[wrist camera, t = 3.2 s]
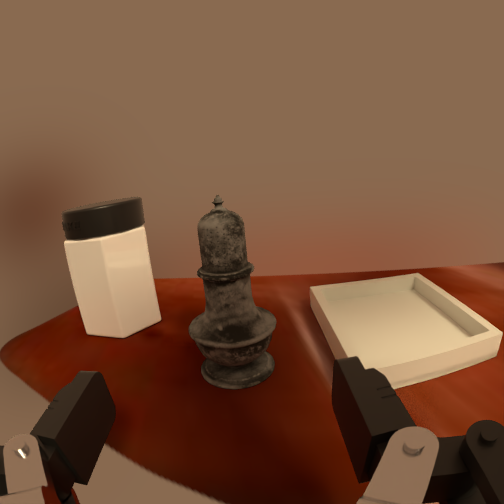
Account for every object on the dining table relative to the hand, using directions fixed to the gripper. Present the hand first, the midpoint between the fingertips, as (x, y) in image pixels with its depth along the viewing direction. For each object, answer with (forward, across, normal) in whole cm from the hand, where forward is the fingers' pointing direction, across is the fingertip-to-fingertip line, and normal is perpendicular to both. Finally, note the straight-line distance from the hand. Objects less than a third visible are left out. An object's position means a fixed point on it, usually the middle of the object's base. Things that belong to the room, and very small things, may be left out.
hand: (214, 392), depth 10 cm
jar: (+20, +12, +7) cm, 24 cm away
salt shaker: (+11, 0, +7) cm, 13 cm away
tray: (+13, -13, +6) cm, 19 cm away
